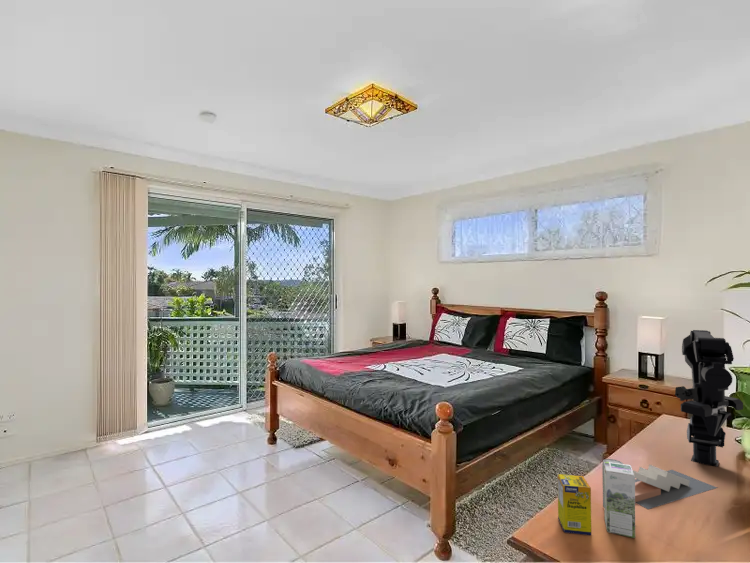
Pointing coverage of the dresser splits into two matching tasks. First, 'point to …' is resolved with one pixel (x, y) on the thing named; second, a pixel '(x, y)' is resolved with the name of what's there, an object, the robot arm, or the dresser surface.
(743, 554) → the dresser surface
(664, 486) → the domino
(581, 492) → the supplement box
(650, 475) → the domino
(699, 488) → the domino mat
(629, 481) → the syrup box
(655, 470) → the domino
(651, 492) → the end domino
